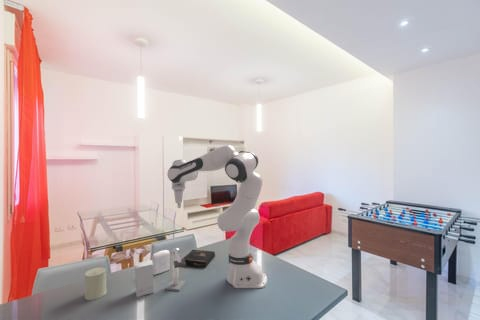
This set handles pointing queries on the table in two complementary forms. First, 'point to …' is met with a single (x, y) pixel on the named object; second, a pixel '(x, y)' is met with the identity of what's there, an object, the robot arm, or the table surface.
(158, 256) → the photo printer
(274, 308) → the table surface
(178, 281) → the post
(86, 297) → the can
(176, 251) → the swing arm
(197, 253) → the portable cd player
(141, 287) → the skincare box
